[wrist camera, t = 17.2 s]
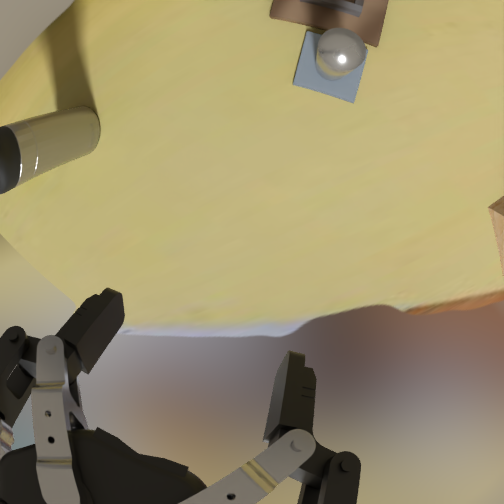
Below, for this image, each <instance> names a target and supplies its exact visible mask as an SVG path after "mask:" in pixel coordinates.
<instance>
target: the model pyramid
mask: <svg viewBox="0 0 504 504" xmlns="http://www.w3.org/2000/svg"><path fill="white" fill-rule="evenodd" d="M488 209H489V212H490V216H491V220H492V223H493V227H494V231H495V236H496V240H497V245H498V249H499V254H500V260H501V265H502V271H503V276H504V196H503V197H501V198H500V199H499V200H497V201H496V202H495V203H493V204H492V205H490V206H489V207H488Z"/></svg>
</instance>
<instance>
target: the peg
mask: <svg viewBox="0 0 504 504" xmlns="http://www.w3.org/2000/svg"><path fill="white" fill-rule="evenodd" d="M365 57H366V47H365V44H364V42H363V40H362V39H361V38H360V37H359V36H358V35H357V34H356V33H354V32H353V31H351V30H348V29H345V28H332V29H329V30H327V31H326V32H324V33H323V34H322V36H321V37H320V39H319V42H318V49H317V56H316V64H315V66H316V70H317V72H318V74H319V75H320V76H321V77H322V78H324V79H326V80H329V81H336V80H339V79H341V78H343V77H344V76H346V75H347V74H348V73H350V72H351V71H353V70H354V69H356V68H357V67H359V66H360V65H361V64H362V63H363V61H364V60H365Z"/></svg>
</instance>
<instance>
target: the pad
mask: <svg viewBox="0 0 504 504" xmlns="http://www.w3.org/2000/svg"><path fill="white" fill-rule="evenodd" d="M321 36H322V35H320V34H317V33H313V32H309V31H307V33H306V37H305V41H304V44H303V48H302V52H301V56H300V59H299V63H298V67H297V71H296V75H295V78H294V82H293V85H296V86H300V87H303V88H307V89H311V90H314V91H317V92H321V93H324V94H327V95H330V96H333V97H336V98H339V99H342V100H345V101H348V102H351V103H354V100H355V97H356V94H357V90H358V86H359V83H360V79H361V76H362V72H363V68H364V64H365V61H366V57H367V53H368V50H367V49H366V57H365V60H364V61H363V63H362V64H361V65H360V66H359V67H357V68H356V69H354V70H353V71H351V72H350V73H348V74H347V75H346V76H344V77H343V78H341V79H339V80H336V81H329V80H326V79H324V78H322V77H321V76H320V75H319V74H318V72H317V70H316V66H315V64H316V56H317V49H318V42H319V39H320V37H321Z"/></svg>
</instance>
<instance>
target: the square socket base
mask: <svg viewBox="0 0 504 504" xmlns="http://www.w3.org/2000/svg"><path fill="white" fill-rule="evenodd" d="M387 4H388V0H274V2H273V5H272V9H271V12H270V18H272V19H278V20H283V21H288V22H293V23H298V24H302V25H307V26H311V27H315V28H319V29H322V30H326V31H327V30H329V29H332V28H345V29H348V30H351V31H353V32H354V33H356V34H357V35H358V36H359V37H360V38H361V39H362V40H363V42H364V43H366V44H369V45H371V46H374V47H377V46H378V44H379V40H380V36H381V32H382V27H383V23H384V18H385V14H386V9H387Z"/></svg>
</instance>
